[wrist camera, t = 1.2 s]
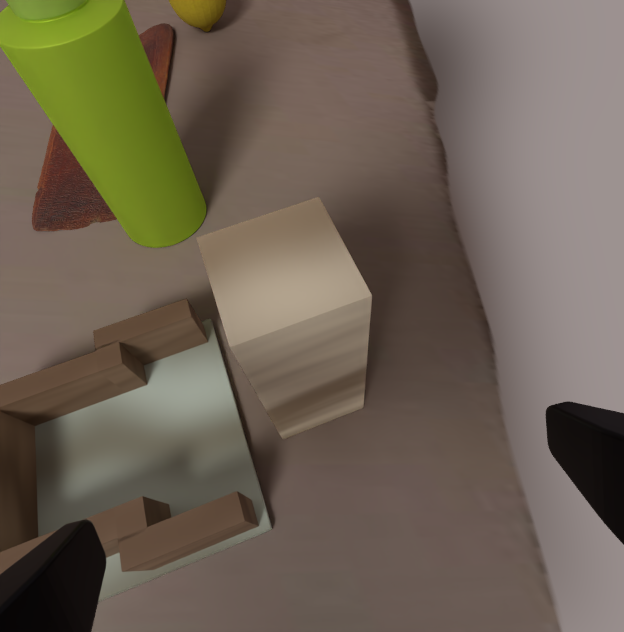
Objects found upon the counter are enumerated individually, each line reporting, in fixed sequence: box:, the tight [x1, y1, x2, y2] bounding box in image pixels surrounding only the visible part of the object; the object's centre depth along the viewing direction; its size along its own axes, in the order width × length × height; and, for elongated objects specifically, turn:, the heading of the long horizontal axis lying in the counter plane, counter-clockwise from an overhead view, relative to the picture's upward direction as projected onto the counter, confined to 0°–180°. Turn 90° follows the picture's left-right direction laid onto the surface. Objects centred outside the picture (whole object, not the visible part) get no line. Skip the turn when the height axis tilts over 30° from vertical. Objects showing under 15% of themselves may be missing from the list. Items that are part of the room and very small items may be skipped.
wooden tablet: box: [32, 23, 174, 231], centre depth 37 cm, size 27×10×2 cm, turn 5°
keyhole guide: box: [0, 298, 272, 602], centre depth 21 cm, size 12×12×3 cm
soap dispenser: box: [0, 0, 206, 248], centre depth 22 cm, size 6×7×20 cm
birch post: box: [197, 197, 372, 439], centre depth 18 cm, size 4×4×11 cm
